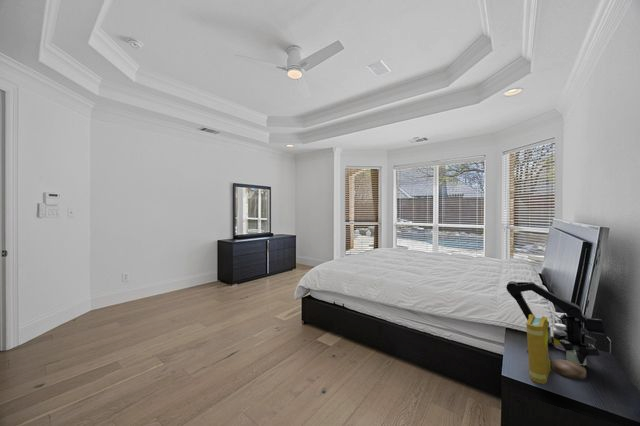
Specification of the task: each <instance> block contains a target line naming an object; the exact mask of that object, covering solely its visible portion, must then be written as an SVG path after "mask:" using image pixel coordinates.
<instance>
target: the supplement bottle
mask: <svg viewBox="0 0 640 426" xmlns="http://www.w3.org/2000/svg"><path fill="white" fill-rule="evenodd" d="M564 330H566V324H562V323H558V322H557V323H554V327H553V328H552V337H553V346H554V348H556V349H558V350H561V351H565V349H564V348H563V346H562V345H561V343H559V341H561V340H556V339H554V334H555V333H565V334H567V333H566V332H564Z"/></svg>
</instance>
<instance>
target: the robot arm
mask: <svg viewBox="0 0 640 426" xmlns="http://www.w3.org/2000/svg"><path fill="white" fill-rule="evenodd" d="M506 291H507V292H508V293H509V295H510V296H511V297H512V298H513V299H514V300H515V301H516V303H517V305H518V306H519V308H520V310H521V312H522V313H523V315H524V317H525V318H526V320H527V321H528V319H529V317H528V316H529V314H531V315H534V313H533V311H532V310H531V307H530V306H529V304H528V303H527V301H526V300H525V298H524V296H523V293H524V292H528V291H529V292H531V291H532V292H533V293H535V294H537V295H538V296H540V297H542V298H543V299H545V300H547V301H549V302H550V303H552V304H554V305H555V306H557V307H558V308H559V309H560V310H561V311H562V312H563V314H562V315H560V319H561V320H563V321H565V325H566V330H564V332H566V333H567V334H565V333H555V334H554V338H553V340H554V339H556V340H561V341H559V343H561V345H562V346H563V348H564V349H565V350H564V351H565V352H566V350H575V351H576V354H577V357H578V360H579V362H580V364H583V363H584V360H585V358H586V359H587V357H588V356H589V357H590V356H591V357H592V356H600V354H601V353H600V350H599V349H598V348H596V347H594V346H595V343H596V341H597V340H596V338H593V337H591V336H588V335H587V334H586V333H585V332H583V330H585V331H586V332H587V333H594V334H599V335H605V328H604V324H603V320H602V319H601V318H592V317H586V316H585V314H584V313H582V310H581V309H580V307H579V305H578V304H576V303H574V302H571V301H569V300H566V299H563V298H560V297H559V296H557V295H555V294H554V293H552V292H550V291H549V290H547V289H545V288H544V287H542V286H540V285H538V284H537V283H535V282H533V281H514V280H513V281H508V282H507V285H506ZM522 292H523V293H522ZM582 326H583V327H582ZM548 336H549V334H548ZM587 344H589V345H587ZM574 346H575V347H577V348H578V349H574ZM526 352H528V349H526Z"/></svg>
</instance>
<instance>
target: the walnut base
mask: <svg viewBox="0 0 640 426" xmlns="http://www.w3.org/2000/svg"><path fill="white" fill-rule="evenodd" d="M550 364H551V369H552V370H553V371H555V373H558V375H559V374H560V375H562V376H564V377H566V378H570V377H571V379H574V380H575V379H576V380H577V379H578V380H584V379H586V378H587V370H586V368H585V367H584V366H581V365H579V364H577V363H574V362H571V361H567V359H566V360H565V359H560V358H557V359H552V360H550Z"/></svg>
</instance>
